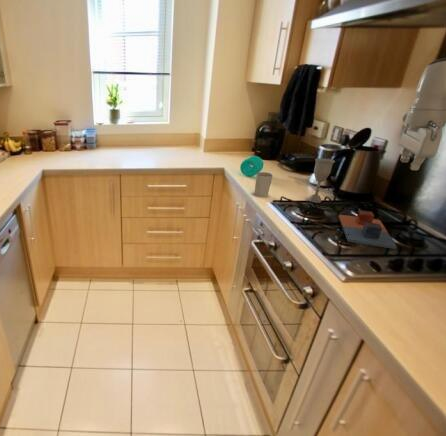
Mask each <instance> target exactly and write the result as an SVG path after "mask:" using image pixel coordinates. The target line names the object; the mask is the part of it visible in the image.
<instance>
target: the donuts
mask: <svg viewBox="0 0 446 436" xmlns="http://www.w3.org/2000/svg"><path fill="white" fill-rule="evenodd" d="M239 167H240V168H239V169H240V170H239V171H240V172H241V174H243V176H245V177H250V178H251V177H254V176H256V174H257V173H259V172H262V171H263V169H264V160H263V159H262V158H261V157H260V156H257V155H251V156H249V157H247V158H245V159H243V160H242V162H241V163H240V166H239Z"/></svg>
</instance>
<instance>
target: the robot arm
mask: <svg viewBox="0 0 446 436" xmlns="http://www.w3.org/2000/svg"><path fill="white" fill-rule="evenodd" d="M401 122H402V125H401V129H400V130H399V131H400V132H399V135H398V140H397V142H398V145H399V146H401V147H402V148H401V156H400V159H399V161H400V162H401V163H409V161H410V159H411V157H410V156H411V154H413V155H414V157H413V161H412V162H411V163H410V165H409V169H410V170H411V171H419V169H420V167H421V165H422V164H423V163H424V161H425V160H426V159H432V158H434V157H435V156H436V154H437V153H438V150H439V148H440V147H439V146H440V144H441V140H442V136H443V130H441V128H444V127H445V126H446V57H443V58H438V59H435V60H433V61H431V62H430V63H428V65H427V66H426V67H425V69H424V70H423V72H422V74H421V76H420V78H419V81H418V84H417V86H416V89H415V91H414V99H413V102H412V103H411V104H410V107H409V109H408V111H407V112H406V113H405V114H403V116H402V118H401Z"/></svg>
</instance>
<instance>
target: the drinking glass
mask: <svg viewBox="0 0 446 436" xmlns="http://www.w3.org/2000/svg"><path fill="white" fill-rule="evenodd" d="M272 179H273V173H271V172H267V171H260V172H258V173H257V174H256V175H255V184H254V193H253V195H254V196H256V197H258V198H267V197H268V196H269V191H270V187H271V183H272Z"/></svg>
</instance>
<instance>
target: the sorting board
mask: <svg viewBox="0 0 446 436" xmlns="http://www.w3.org/2000/svg"><path fill="white" fill-rule="evenodd" d="M356 218H357V216H354V215H347V214H346V215H345V214H338V219H339V222H340V225H341V228H342V231H343V233H344V236H345V239H346V241H347V242H348V243H353V244H354V243H355V244H359V245H360V244H361V245H366V246H373V247H379V248H386V249H390V250H391V249H392V250H397V249H398V248H397V247H398V246H397V244H396V243H395V241H394V240H393V238H392V236H391V235H390V234H389V232H388V230H387V228H386V227H385V225H384V224H383V222H382V221H381V220H380V219H375V218H374V219H373V222H372V223H376V224H380V226H381V227H382V231H381V234H380V236H379V239H373V238H366V237H364V236H363V234H362V230H363V227H364V225H360V224H357V221H356ZM348 234H349V235H348Z"/></svg>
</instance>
